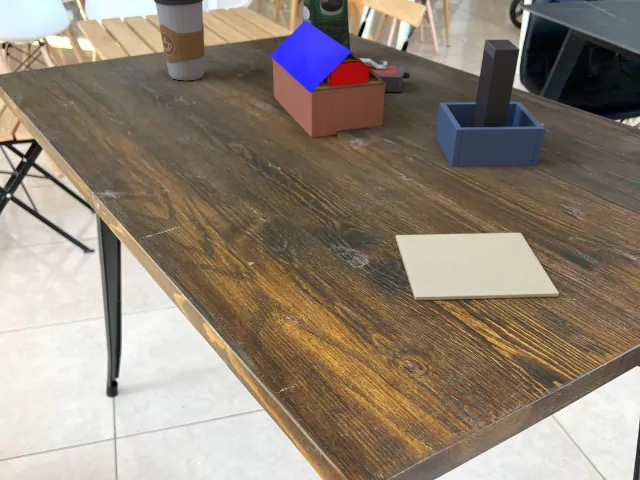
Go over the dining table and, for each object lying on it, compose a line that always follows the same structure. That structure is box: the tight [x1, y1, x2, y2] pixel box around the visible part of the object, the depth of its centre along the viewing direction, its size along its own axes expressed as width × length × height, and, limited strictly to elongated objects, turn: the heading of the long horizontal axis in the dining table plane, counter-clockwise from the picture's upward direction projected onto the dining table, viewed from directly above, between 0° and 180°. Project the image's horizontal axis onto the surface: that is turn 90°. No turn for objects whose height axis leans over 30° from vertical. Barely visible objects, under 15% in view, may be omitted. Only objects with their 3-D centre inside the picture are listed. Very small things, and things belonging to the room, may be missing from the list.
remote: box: [472, 39, 520, 127], centre depth 86 cm, size 3×5×14 cm, turn 3°
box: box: [435, 101, 546, 168], centre depth 89 cm, size 12×11×6 cm
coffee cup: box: [153, 0, 205, 81], centre depth 114 cm, size 8×8×15 cm
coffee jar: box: [302, 0, 351, 51], centre depth 123 cm, size 10×8×19 cm
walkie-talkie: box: [358, 57, 411, 93], centre depth 115 cm, size 9×4×20 cm
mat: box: [395, 232, 560, 301], centre depth 67 cm, size 14×12×1 cm
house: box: [270, 21, 386, 138], centre depth 100 cm, size 12×20×12 cm, turn 20°
